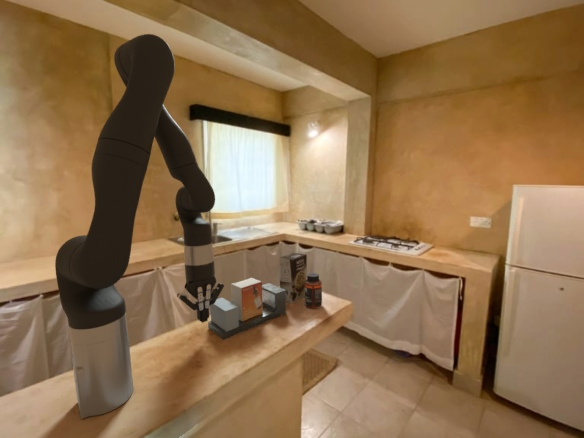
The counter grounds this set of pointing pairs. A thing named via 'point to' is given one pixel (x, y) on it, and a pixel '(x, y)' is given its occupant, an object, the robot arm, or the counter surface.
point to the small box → (247, 298)
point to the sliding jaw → (224, 314)
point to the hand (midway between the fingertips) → (203, 320)
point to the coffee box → (293, 276)
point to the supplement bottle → (313, 291)
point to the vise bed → (271, 309)
